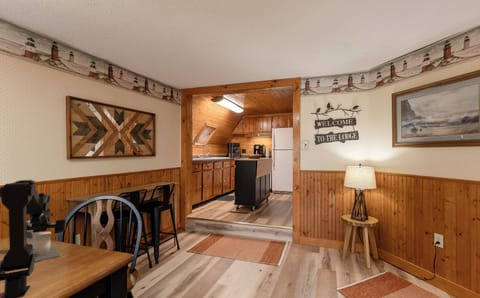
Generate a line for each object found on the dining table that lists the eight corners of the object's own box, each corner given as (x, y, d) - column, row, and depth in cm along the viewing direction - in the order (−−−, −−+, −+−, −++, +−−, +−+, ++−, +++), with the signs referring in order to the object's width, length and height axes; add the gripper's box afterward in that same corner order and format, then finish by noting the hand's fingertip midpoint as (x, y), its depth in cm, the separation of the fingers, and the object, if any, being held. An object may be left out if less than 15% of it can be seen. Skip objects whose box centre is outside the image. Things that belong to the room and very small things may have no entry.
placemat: (59, 256, 113) (60, 255, 113) (29, 263, 105) (29, 262, 105) (53, 247, 124) (53, 246, 124) (25, 253, 116) (25, 252, 116)
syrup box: (28, 246, 125) (30, 219, 125) (42, 245, 127) (43, 218, 127) (23, 250, 119) (24, 222, 120) (37, 249, 122) (38, 221, 122)
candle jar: (51, 253, 115) (52, 233, 116) (36, 257, 111) (37, 236, 111) (48, 250, 119) (49, 230, 119) (34, 254, 114) (34, 233, 115)
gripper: (66, 203, 117) (69, 219, 126) (16, 206, 108) (23, 224, 117) (63, 222, 110) (66, 239, 119) (9, 228, 101) (17, 245, 110)
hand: (44, 236), depth 116 cm, fingers open, 9 cm apart
